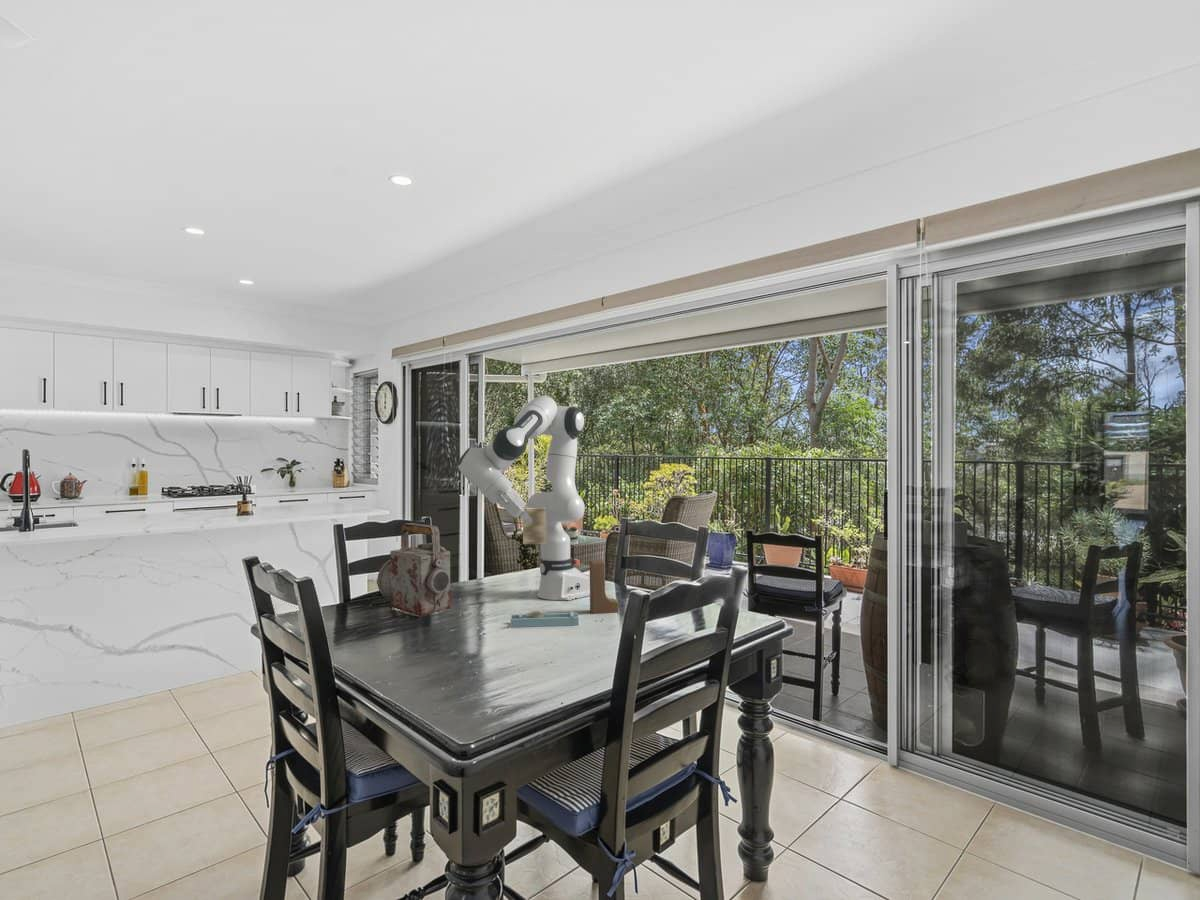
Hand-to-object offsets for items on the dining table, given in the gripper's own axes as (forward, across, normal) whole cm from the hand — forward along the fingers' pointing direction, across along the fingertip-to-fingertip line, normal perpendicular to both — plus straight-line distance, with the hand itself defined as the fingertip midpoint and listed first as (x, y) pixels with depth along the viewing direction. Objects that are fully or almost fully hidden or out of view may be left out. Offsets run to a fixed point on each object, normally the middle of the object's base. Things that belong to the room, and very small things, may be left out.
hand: (531, 521), depth 199 cm
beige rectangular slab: (+5, 0, +4) cm, 7 cm away
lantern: (-5, +26, +53) cm, 59 cm away
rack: (+26, 0, +21) cm, 34 cm away
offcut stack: (+23, 0, +23) cm, 32 cm away
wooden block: (+40, +13, +7) cm, 43 cm away
